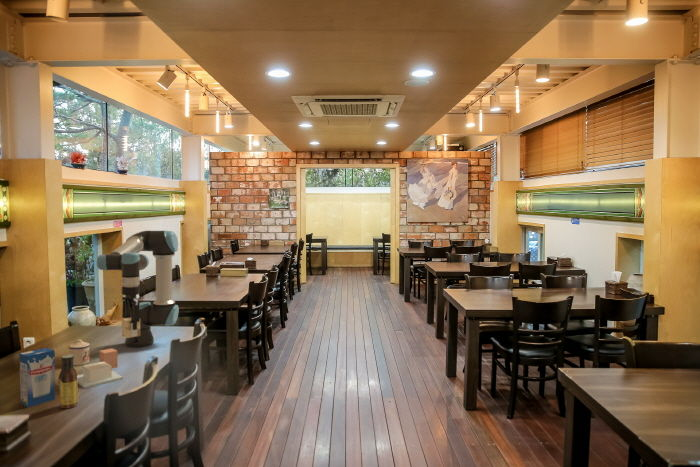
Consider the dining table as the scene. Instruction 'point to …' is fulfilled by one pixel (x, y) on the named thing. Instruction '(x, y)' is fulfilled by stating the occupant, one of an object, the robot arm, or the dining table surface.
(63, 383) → the sauce bottle
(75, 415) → the dining table surface
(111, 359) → the terracotta block
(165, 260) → the robot arm
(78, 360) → the teacup with lid
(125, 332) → the maple block
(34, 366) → the milk carton
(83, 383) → the base
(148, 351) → the dining table surface
